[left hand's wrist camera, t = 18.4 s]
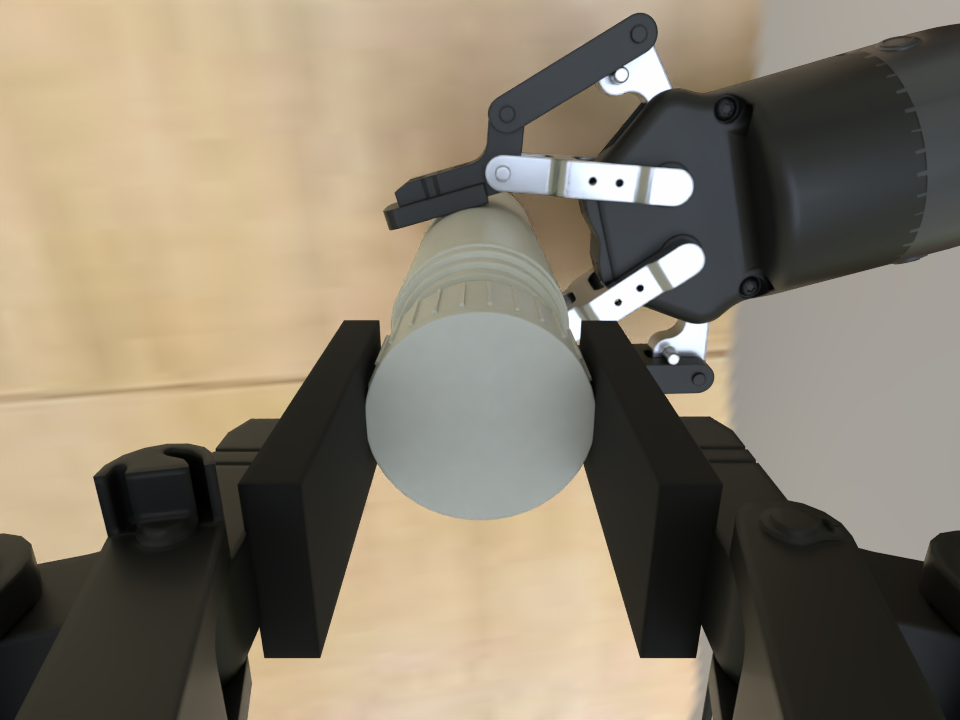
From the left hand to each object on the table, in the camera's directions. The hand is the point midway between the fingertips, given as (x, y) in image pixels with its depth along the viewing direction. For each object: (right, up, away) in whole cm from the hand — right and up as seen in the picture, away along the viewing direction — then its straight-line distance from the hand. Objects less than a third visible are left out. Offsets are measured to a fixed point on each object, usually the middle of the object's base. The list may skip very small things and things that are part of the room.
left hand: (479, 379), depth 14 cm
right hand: (-2, +3, +10) cm, 11 cm away
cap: (0, -1, -2) cm, 2 cm away
